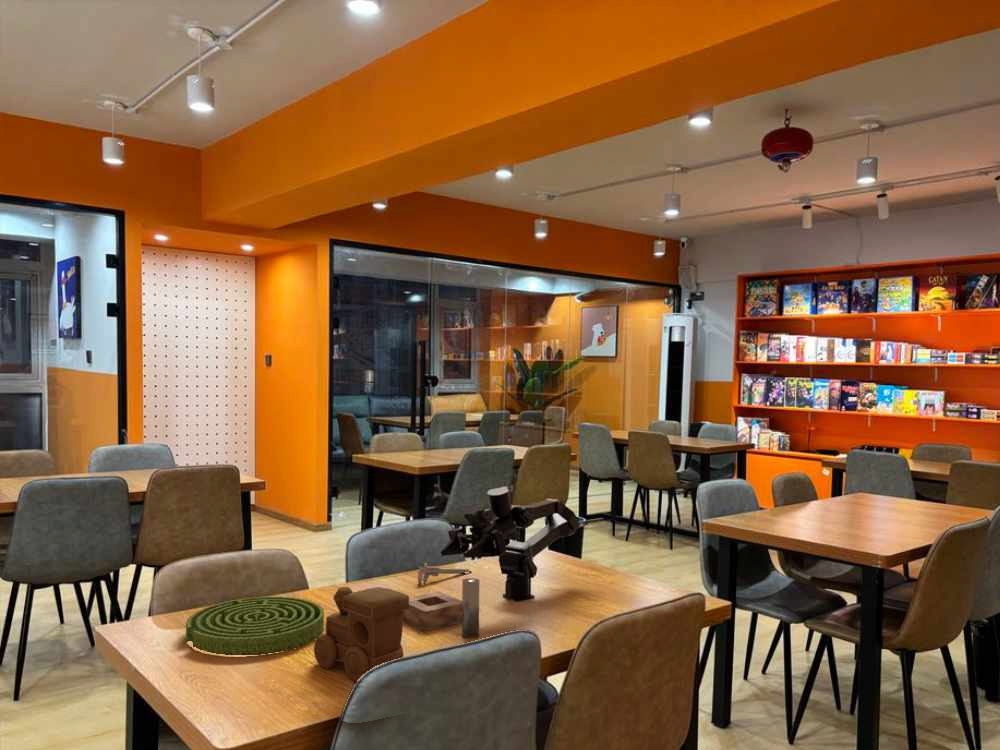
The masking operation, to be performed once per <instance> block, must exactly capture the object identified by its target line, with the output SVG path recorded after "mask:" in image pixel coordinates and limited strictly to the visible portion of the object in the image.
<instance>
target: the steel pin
mask: <svg viewBox="0 0 1000 750" xmlns="http://www.w3.org/2000/svg"><path fill="white" fill-rule="evenodd" d="M461 583H462V587H461V588H462V589H461V593H462V595H461V596H462V597H461V601H462V623H461V636H462V638H465V639H476V638H478V637H479V636H480V579H478V578H476V577H475V578H474V577H468V578H463V579H462V582H461Z"/></svg>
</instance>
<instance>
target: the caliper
mask: <svg viewBox="0 0 1000 750" xmlns="http://www.w3.org/2000/svg"><path fill="white" fill-rule="evenodd" d="M469 570H470V569H469V568H454V567H453V568H452V567H451V568H449V567H448V568H445V567H444V568H443V567H442V568H440V567H439V566H429V565H428V562H424V563H423V562H421V566H419V568H418V572H417V583H418V585H422V584H424V583H425V582H428V579H430V578H429V577H430V576H432V577H439V575H440V574H441V575H445V574H447V575H449V574H450V575H463V574H462V573H465V572H469V573H471V572H470V571H471V570H470V571H469ZM423 582H424V583H423Z"/></svg>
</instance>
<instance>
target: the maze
mask: <svg viewBox="0 0 1000 750" xmlns="http://www.w3.org/2000/svg"><path fill="white" fill-rule="evenodd" d="M324 615H325V612H324V608H323V607H322V606H321V605H320V604H318V603H316V602H314V601H312V600H308V599H304V598H299V597H293V596H292V597H291V596H289V597H288V596H258V597H257V596H256V597H246V598H238V599H233V600H228V601H223V602H219V603H216V604H212V605H210V606H206V607H204V608H202V609H199V610H198V611H196V612H194V613H193V614H192V615H190V616H189V617H188V618H187V620H186V623H185V639H186V638H187V642H188V641H192V642H193V647H196V648H198V649H200V650H204V651H207V652H211V653H216V654H225V655H261V654H268V653H275V652H281V651H286V650H290V651H292V650H291V649H294V648H296V649H299V648H301V647H304V646H307V645H309V644H311V643H313V642H315V641H316V640H315V639H317V638H318V637H319V636H320V635H322V634H323V633H324V631H325V630H324V629H325V628H324V626H325V625H324V622H325V621H324V620H325V618H324ZM322 632H323V633H322ZM314 640H315V641H314ZM312 641H313V642H312ZM187 642H186V643H187ZM310 642H311V643H310ZM308 643H309V644H308ZM306 644H307V645H306ZM298 647H299V648H298ZM294 650H295V649H294ZM286 652H287V651H286Z"/></svg>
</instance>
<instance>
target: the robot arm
mask: <svg viewBox="0 0 1000 750" xmlns="http://www.w3.org/2000/svg"><path fill="white" fill-rule="evenodd" d="M487 500H488V506H489V508H487V509H486V508H485V507H482V506H475V505H473V506H470V508H469V509H467V511H466V512H465V513H464V514H463V516H464V518H465V519H466V521H467V522H468V523H469V525H470V527H469V532H470V533H467V531H466V530H465V529H463V528H459V527H457V528H456V527H453V528H452V529H451V528H450V530H448V532H447V533H448V536H449V541H448V542H447V544H446V545H445V546H444V547H443V548H442V549H441V551H440V555H441V556H443V557H446V556H454V555H455V556H456V555H463V556H464V558H465V559H469V558H470V559H471V558H472V559H473V558H494V557H498V562H499V563H498V564H499V567H500V568H499V569H500V572H501V575H506V580H505V589H504V592H505V593H503V594H502V597H504V598H505V599H506V598H507V599H510V600H512V601H514V602H521V601H525V600H529V599H533V598H535V595H534V594H532V579H533V578H535V577H536V576H537V573H538V567H537V565H536V564H535V562H534V558H536V556H537V555H539V554H540V553H541V552H543V551H544V550H545V549H546V548H547V547H549V546H550V545H552V543H554V542H555V541H556V540H558V539H559V538H563V537H569V536H571V535H573V534H575V533H576V532H577V530H579V528H580V521H579V518H578V516H577V515H576V513H575V512H574V511H573V510H572V509H570V508H569V507H568V506H567V505H565V503H564V501H563V500H561V499H557V498H556V499H555V498H545V500H541V501H538V502H534V503H530V504H527V505H520V504H519V505H518V504H512V499H511V489H510V487H509V486H501V487H496V488H491V489H489V490H488V491H487ZM494 517H496V518H494ZM493 518H494V519H493ZM543 518H545V520H546V521H547V525H545V526H544V527H542V528H541V529H539V531H537V532H536V533H535V534H533V535H531V536H530V537H529V538H528V539H526V540H525V541H524V542H523V541H517V539H518V533H519V532H518V531H517V528H520V529H528V528H529V527H531V526H532V525H533V524H534V523H535V521H536V520H539V519H543ZM505 539H506V540H510V542H509V543H508V545H506V541H505ZM470 545H473V546H472V547H470Z"/></svg>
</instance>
